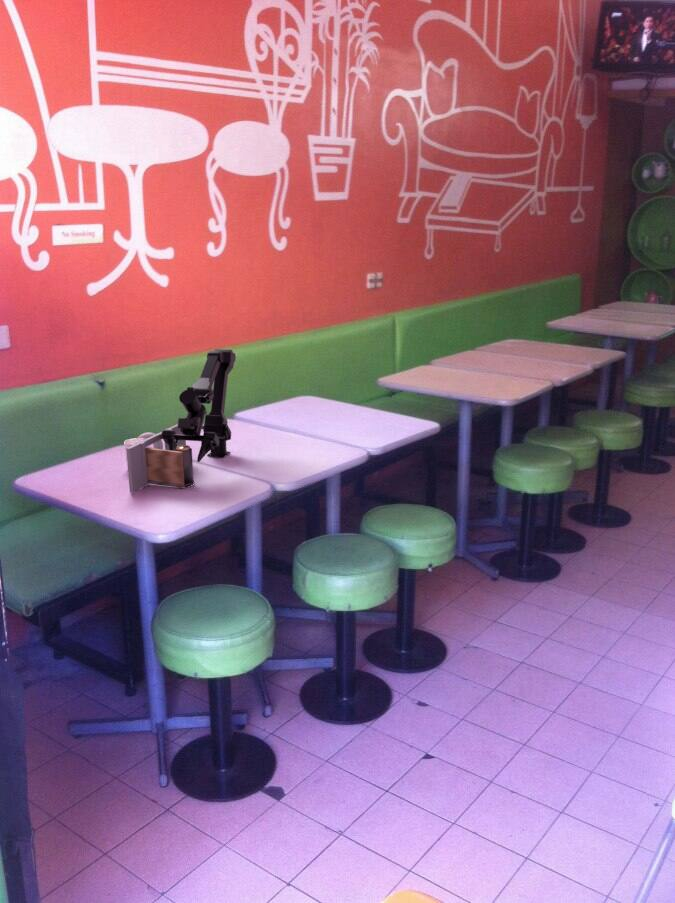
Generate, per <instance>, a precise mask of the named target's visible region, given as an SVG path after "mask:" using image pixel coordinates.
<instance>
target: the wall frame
mask: <svg viewBox="0 0 675 903" xmlns="http://www.w3.org/2000/svg"><path fill="white" fill-rule="evenodd" d="M177 427H178V423H176V424H175V425H172V426H170V427H169V428H164V429H163V430H174V431H175V432H176V434H183V432H181V431H180V428H177ZM161 433H162V431H161V432H158V433H155V434H156V435H153V436H151V437H149V438H147V439H145V440H143V441H141V442H137V443H136V444H135V445H132V446H130V447H128V448H126V449H127V461H126V463H127V462H128V467H127V473H128V475H127V476H128V487H129V493H130V494H135V492H137V491H139V490H141V489H142V488H146V487H148V486H149V484H148V478H147V464H146V450H145V447H147V448H148V447H149V446H152V445H153V443H155V442H157V441H159V440H163V439H162V437H161ZM186 441H187V440H178V443H176V444H177V446H180V445H187V443H186ZM164 450H170V449H169V445H168V444H166V443H165V442H164Z"/></svg>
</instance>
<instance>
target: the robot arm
mask: <svg viewBox="0 0 675 903" xmlns="http://www.w3.org/2000/svg"><path fill="white" fill-rule="evenodd" d="M236 358H237V357H236V353H235V352H234V351H233V349H222V348H221V349H220V348H219V349H218V348H215V349H214V350H212V351H208V352H207V354H206V360H205V363H204V366H203V369H202V370H201V374H200V376H199V379H198V380H197V381H195V382H194V383H193V384H192V386H191V387H190V386H188V387H187V389H186V390H184V391H182V392H180V395H179V397H178V399H179V402H180V404H181V405H182V406H183V408H184V410H185V411H186V412H187V414H186V415H187V416H186V417H184V418H181V417H179V418H178V420H177V424H178V427H177V428H180V431H181V432H183V434H176V432H175V431H174V430H164V429H163V430H162V431H161V432H162V433H161V437H162V439H161V440H163V441H164V444H165V443H166V444H168V445H169V449H170V450H171V451H174V450H175V449H176V447H177V444H176V443H178V440H186V441H191V442H200V444H201V445H200V447H199V451H198V454H197V459H196V461H197V463H200V462H201V461H202V459H203V458H204V457H205V456H207V457H212V458H220V459H221V458H222V459H223V458H226V456H228V455H230V454H231V451H227V442H228V441H230V440H232V430H231V429H230V427H229V425H228V419H227V416H226V414H225V405H226V399H227V398H226V396H227V389H228V388H227V387H228V379H229V374H230V373H231V371H232V370H233V369H234V366H235V362H236ZM206 404H208V405H209V404H211V406H210V407H211V408H210V412H209V413H208V412H207V408H206V406H205V405H206ZM202 430H203V434H202V435H201V433H202Z"/></svg>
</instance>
